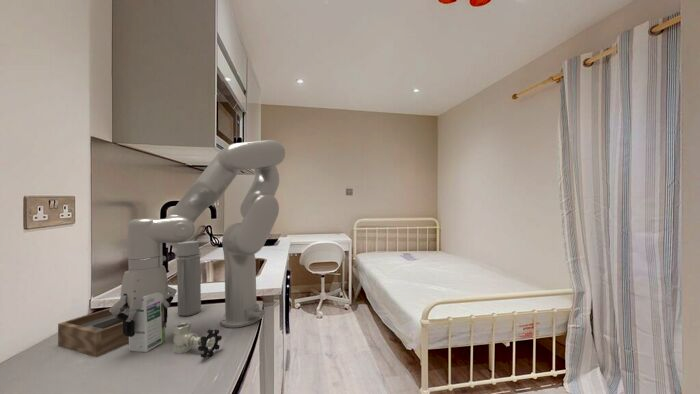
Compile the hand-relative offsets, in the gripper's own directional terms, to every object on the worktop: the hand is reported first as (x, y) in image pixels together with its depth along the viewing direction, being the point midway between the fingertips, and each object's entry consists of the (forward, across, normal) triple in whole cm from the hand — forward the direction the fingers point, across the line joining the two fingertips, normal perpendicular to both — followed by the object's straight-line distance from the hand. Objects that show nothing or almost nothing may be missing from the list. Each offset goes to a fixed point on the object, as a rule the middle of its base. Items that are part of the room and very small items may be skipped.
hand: (146, 328), depth 75 cm
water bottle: (+5, -20, -10) cm, 23 cm away
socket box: (+5, -1, -16) cm, 17 cm away
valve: (+5, -2, +15) cm, 16 cm away
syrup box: (+5, 0, 0) cm, 5 cm away
